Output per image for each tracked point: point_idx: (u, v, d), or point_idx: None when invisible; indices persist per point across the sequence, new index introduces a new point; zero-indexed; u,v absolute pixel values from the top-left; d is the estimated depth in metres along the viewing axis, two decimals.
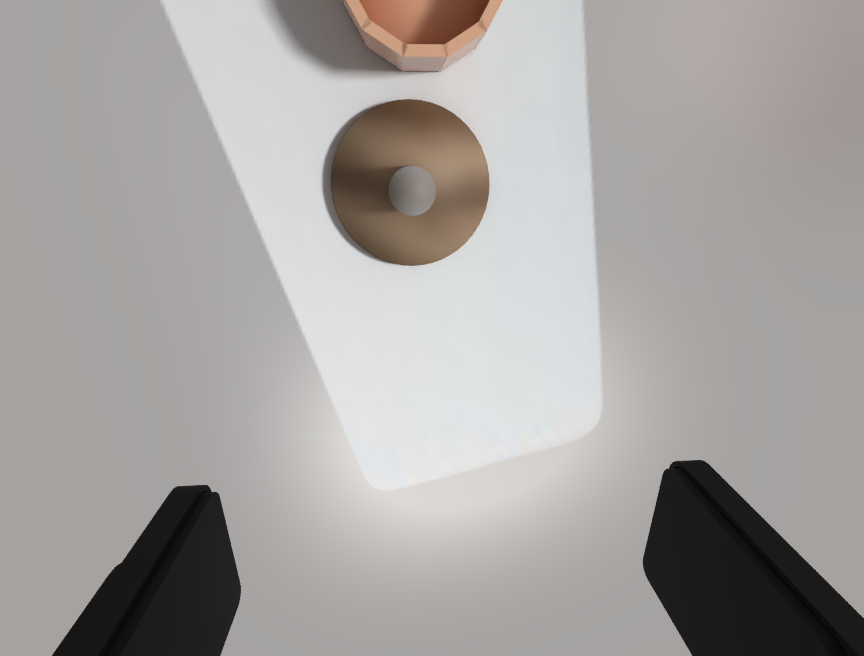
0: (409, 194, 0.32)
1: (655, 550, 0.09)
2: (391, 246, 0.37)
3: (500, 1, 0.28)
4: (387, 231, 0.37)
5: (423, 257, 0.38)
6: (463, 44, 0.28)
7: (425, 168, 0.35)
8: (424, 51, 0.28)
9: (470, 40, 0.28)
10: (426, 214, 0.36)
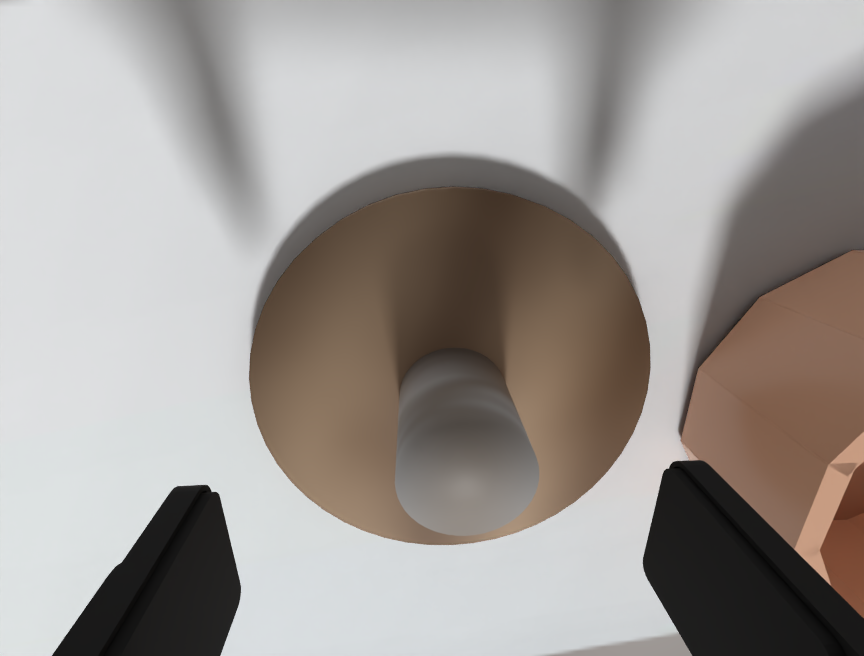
0: (459, 473, 0.10)
1: (655, 551, 0.09)
2: (298, 349, 0.13)
3: None
4: (338, 339, 0.13)
5: (277, 426, 0.14)
6: None
7: None
8: (819, 509, 0.11)
9: None
10: (390, 430, 0.15)
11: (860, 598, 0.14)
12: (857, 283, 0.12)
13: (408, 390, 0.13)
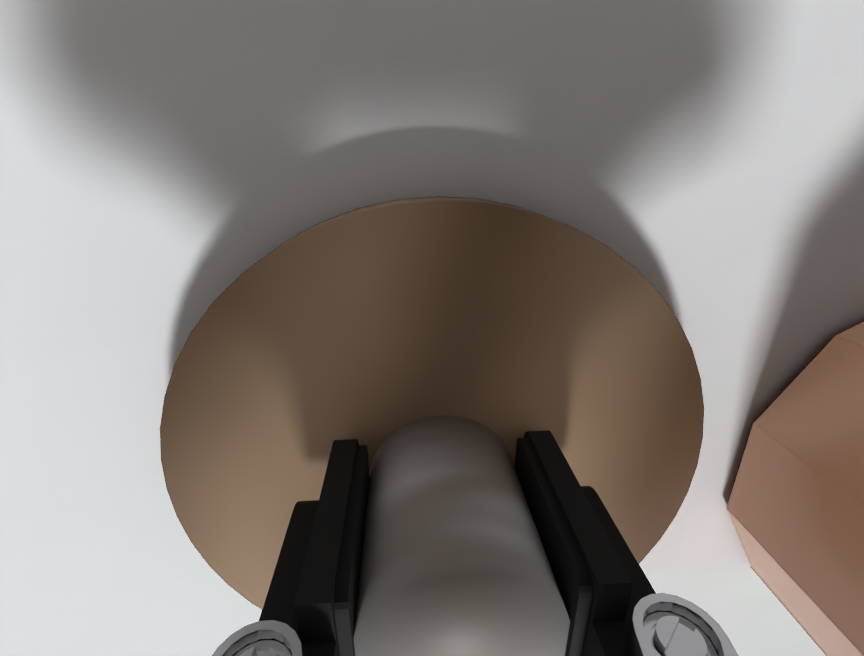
0: (451, 639, 0.07)
1: None
2: (228, 421, 0.10)
3: None
4: (283, 406, 0.10)
5: (205, 518, 0.11)
6: None
7: None
8: None
9: None
10: None
11: None
12: None
13: (378, 483, 0.09)
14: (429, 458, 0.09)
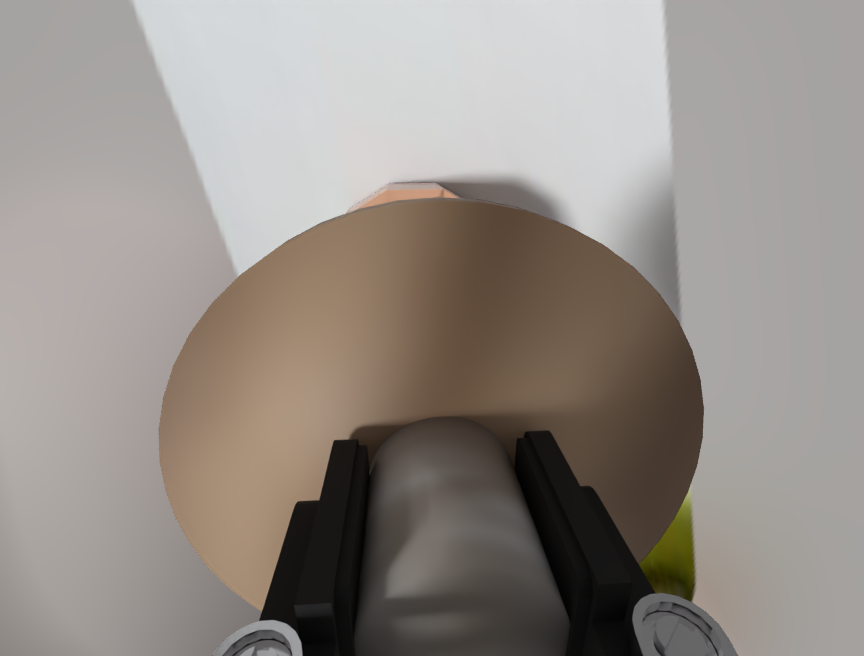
0: (451, 642, 0.07)
1: None
2: (227, 422, 0.10)
3: None
4: (282, 408, 0.10)
5: (204, 520, 0.11)
6: (367, 204, 0.23)
7: None
8: (416, 195, 0.23)
9: (359, 208, 0.23)
10: None
11: None
12: None
13: (378, 484, 0.09)
14: (429, 459, 0.09)
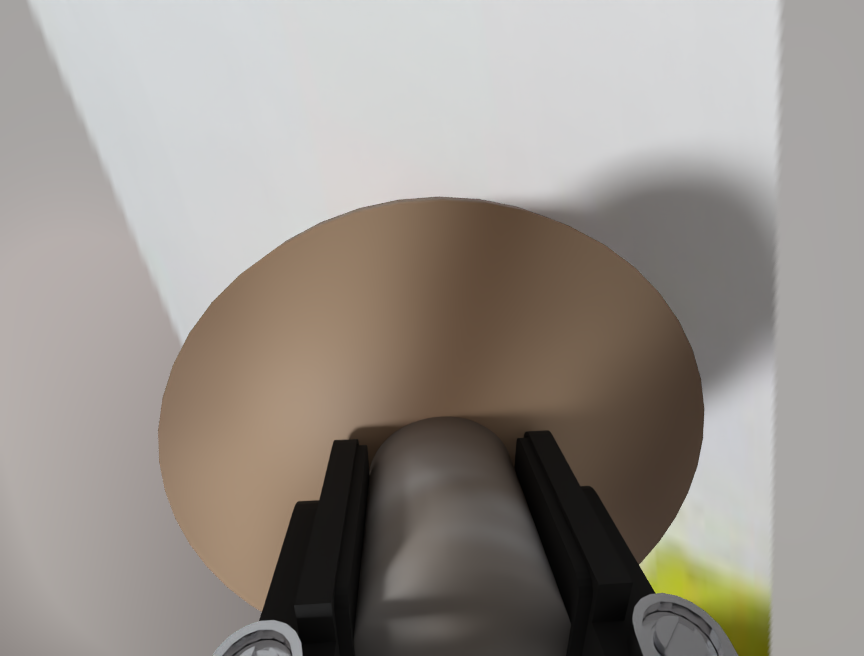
0: (451, 643, 0.07)
1: None
2: (226, 423, 0.10)
3: None
4: (282, 408, 0.10)
5: (204, 520, 0.11)
6: None
7: None
8: None
9: None
10: None
11: None
12: None
13: (378, 485, 0.09)
14: (429, 460, 0.09)
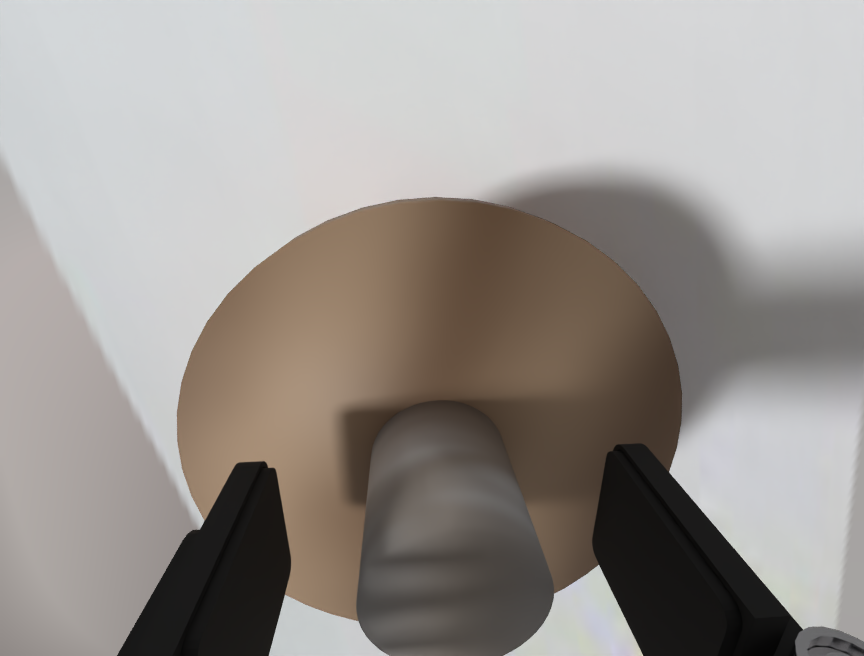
0: (445, 595, 0.08)
1: (601, 530, 0.10)
2: (240, 405, 0.10)
3: None
4: (291, 392, 0.10)
5: None
6: None
7: None
8: None
9: None
10: (360, 498, 0.12)
11: None
12: None
13: (379, 461, 0.10)
14: (426, 437, 0.09)
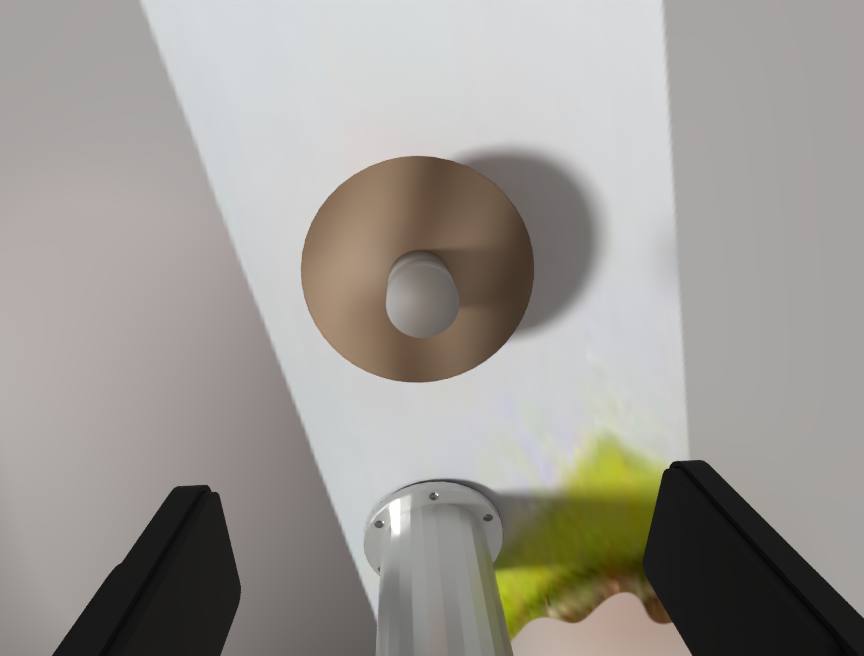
0: (418, 299, 0.20)
1: (655, 551, 0.09)
2: (330, 250, 0.23)
3: None
4: (353, 244, 0.23)
5: (316, 299, 0.24)
6: None
7: None
8: None
9: None
10: (383, 302, 0.25)
11: None
12: None
13: (393, 270, 0.23)
14: (412, 257, 0.22)
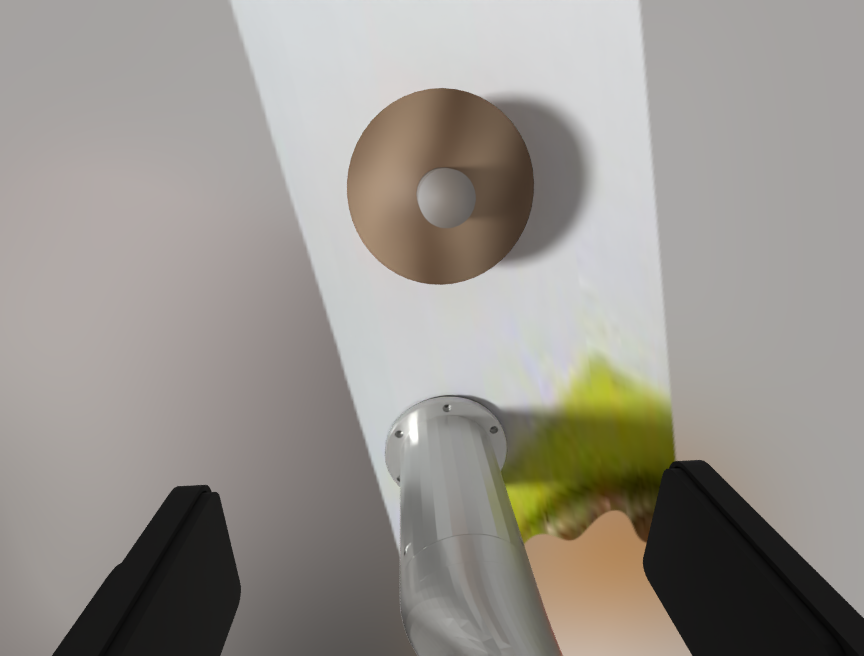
0: (444, 195, 0.26)
1: (655, 550, 0.09)
2: (370, 166, 0.29)
3: None
4: (389, 161, 0.29)
5: (358, 208, 0.30)
6: None
7: None
8: None
9: None
10: (411, 212, 0.30)
11: None
12: None
13: (421, 180, 0.28)
14: (437, 168, 0.28)
